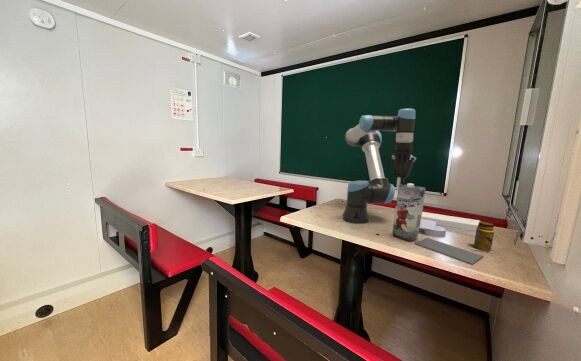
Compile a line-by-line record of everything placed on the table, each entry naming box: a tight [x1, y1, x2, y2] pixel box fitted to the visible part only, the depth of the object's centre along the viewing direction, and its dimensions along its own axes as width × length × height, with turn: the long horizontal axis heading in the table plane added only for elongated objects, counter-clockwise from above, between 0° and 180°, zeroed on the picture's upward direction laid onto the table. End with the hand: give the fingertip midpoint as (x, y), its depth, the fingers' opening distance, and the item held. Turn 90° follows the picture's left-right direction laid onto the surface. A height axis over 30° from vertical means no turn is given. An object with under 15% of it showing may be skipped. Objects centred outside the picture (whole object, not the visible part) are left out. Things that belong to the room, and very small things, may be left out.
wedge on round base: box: [420, 219, 447, 238], centre depth 121 cm, size 9×7×13 cm
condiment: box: [465, 221, 495, 254], centre depth 104 cm, size 7×8×12 cm
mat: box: [414, 237, 484, 266], centre depth 101 cm, size 22×12×1 cm, turn 35°
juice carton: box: [392, 182, 427, 242], centre depth 112 cm, size 9×10×27 cm
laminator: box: [421, 211, 482, 237], centre depth 131 cm, size 34×12×6 cm, turn 59°
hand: (399, 190), depth 115 cm, fingers closed
